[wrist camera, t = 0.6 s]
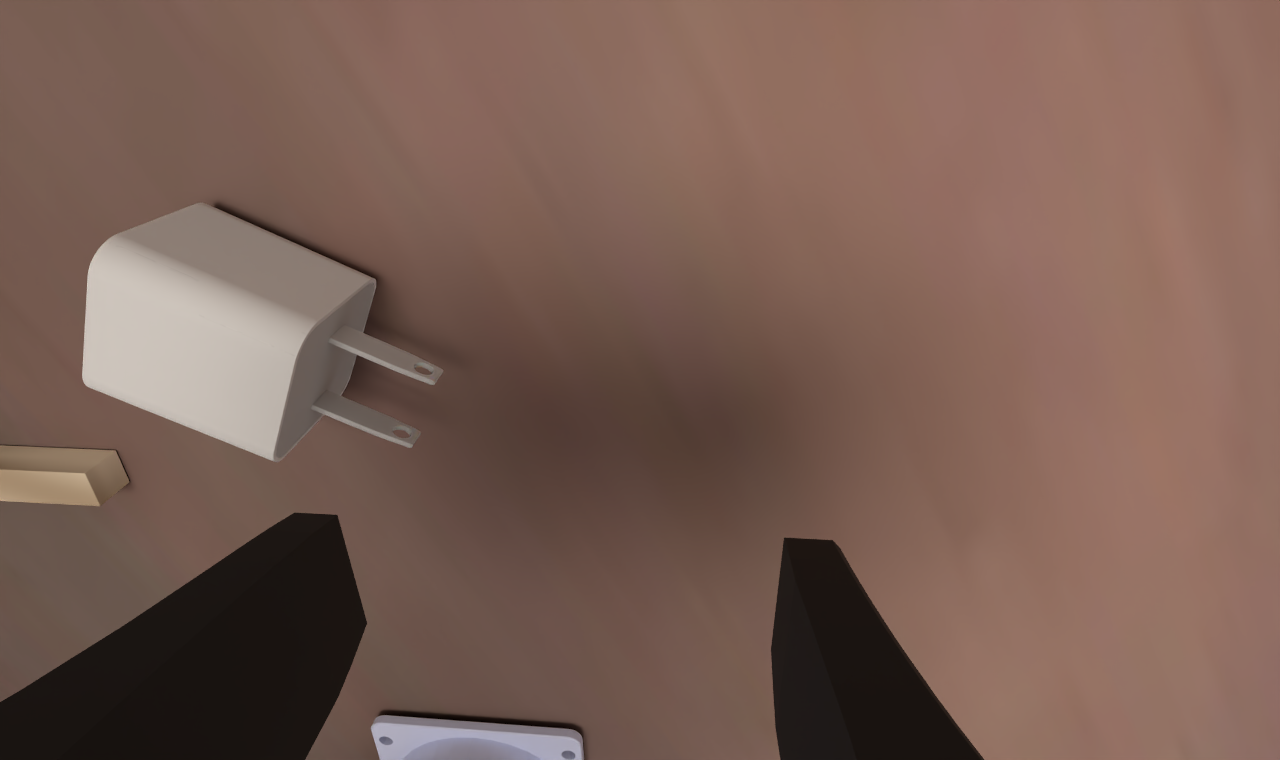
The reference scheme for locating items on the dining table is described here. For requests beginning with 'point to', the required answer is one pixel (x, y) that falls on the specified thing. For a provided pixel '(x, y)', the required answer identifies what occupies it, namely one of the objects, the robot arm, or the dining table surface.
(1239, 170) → the dining table surface
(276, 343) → the usb wall charger
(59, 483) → the charger bay
